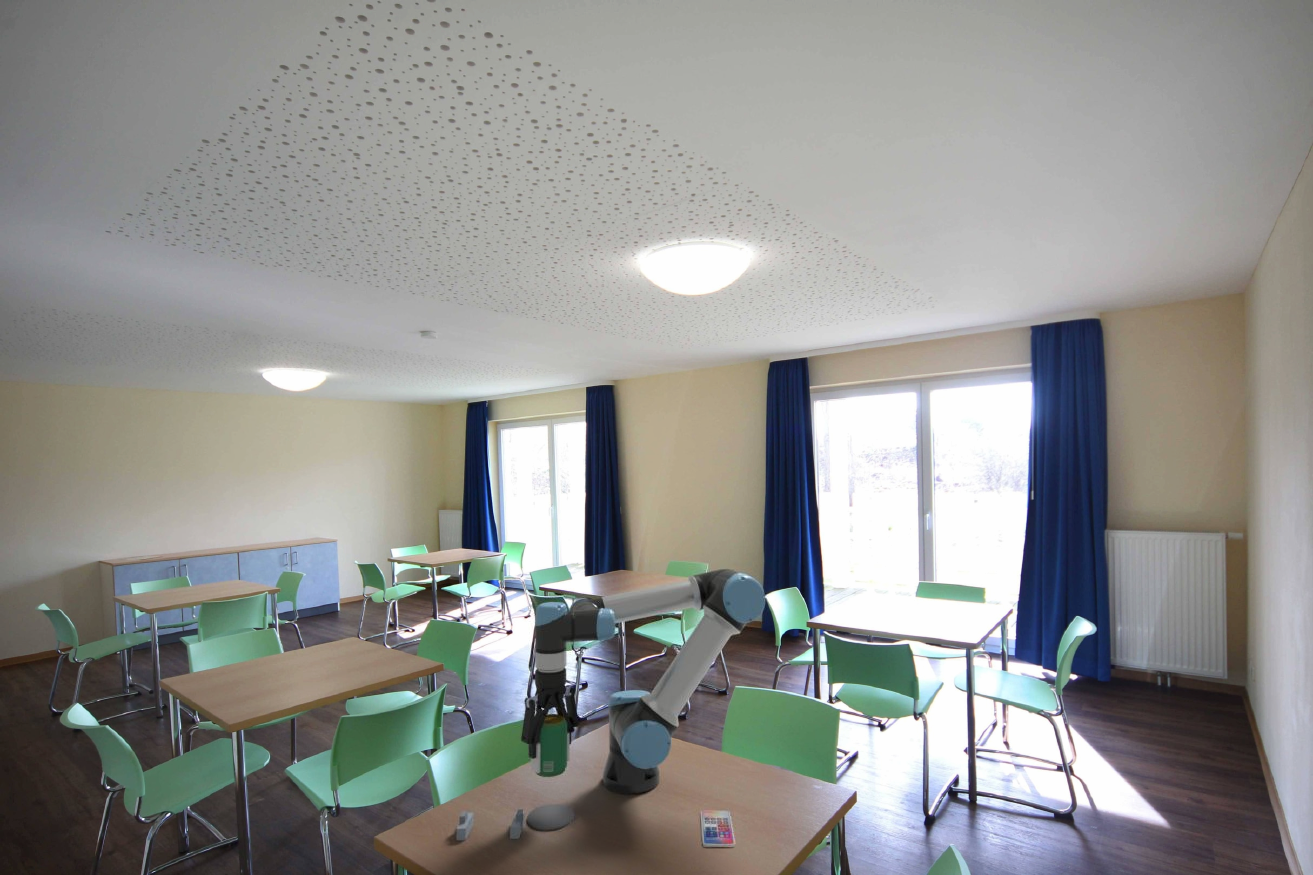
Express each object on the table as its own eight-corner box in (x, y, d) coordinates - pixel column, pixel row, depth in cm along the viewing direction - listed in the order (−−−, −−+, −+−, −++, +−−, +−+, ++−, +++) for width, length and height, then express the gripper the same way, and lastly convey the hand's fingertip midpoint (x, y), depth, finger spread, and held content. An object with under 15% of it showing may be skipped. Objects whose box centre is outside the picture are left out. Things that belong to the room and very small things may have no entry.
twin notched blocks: (524, 821, 149) (524, 804, 150) (519, 838, 142) (519, 819, 143) (465, 823, 149) (465, 806, 149) (456, 840, 142) (456, 821, 142)
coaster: (576, 805, 157) (576, 803, 157) (571, 829, 146) (571, 826, 146) (531, 806, 156) (531, 804, 156) (523, 831, 145) (523, 828, 145)
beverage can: (530, 766, 154) (530, 715, 155) (562, 760, 157) (562, 711, 158) (537, 780, 147) (537, 727, 148) (570, 773, 150) (570, 721, 151)
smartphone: (730, 809, 153) (736, 844, 138) (730, 814, 152) (736, 849, 138) (699, 809, 153) (702, 844, 138) (699, 813, 153) (702, 849, 138)
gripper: (574, 656, 164) (574, 747, 162) (505, 674, 149) (504, 774, 147) (593, 661, 159) (593, 755, 157) (523, 680, 144) (523, 784, 142)
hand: (550, 764), depth 152 cm, fingers closed on beverage can, 8 cm apart
